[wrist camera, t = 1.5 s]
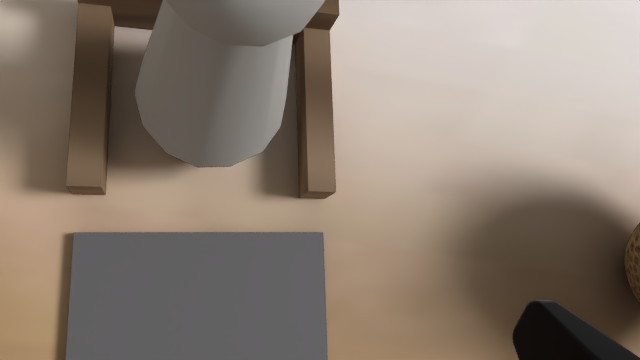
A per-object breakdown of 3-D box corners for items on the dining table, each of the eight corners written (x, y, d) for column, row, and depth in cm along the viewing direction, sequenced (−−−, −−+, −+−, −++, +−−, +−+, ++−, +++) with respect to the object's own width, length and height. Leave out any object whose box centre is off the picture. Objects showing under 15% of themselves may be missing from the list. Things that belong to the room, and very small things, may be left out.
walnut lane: (325, 198, 24) (346, 185, 21) (72, 194, 21) (58, 177, 18) (318, 27, 26) (338, -7, 23) (85, 1, 23) (74, -41, 20)
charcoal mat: (329, 481, 21) (331, 484, 21) (56, 518, 19) (54, 521, 18) (321, 233, 23) (323, 232, 23) (74, 233, 21) (73, 232, 20)
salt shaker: (292, 89, 25) (419, -118, 12) (244, 201, 23) (336, 88, 11) (173, 32, 24) (182, -256, 11) (113, 144, 22) (47, -54, 10)
